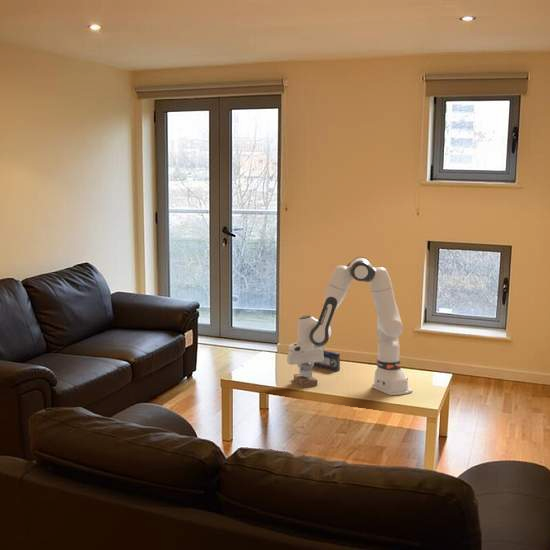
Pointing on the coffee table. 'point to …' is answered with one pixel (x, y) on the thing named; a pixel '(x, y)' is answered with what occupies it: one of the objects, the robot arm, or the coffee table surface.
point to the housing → (306, 370)
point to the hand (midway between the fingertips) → (305, 370)
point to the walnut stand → (305, 380)
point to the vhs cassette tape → (329, 361)
